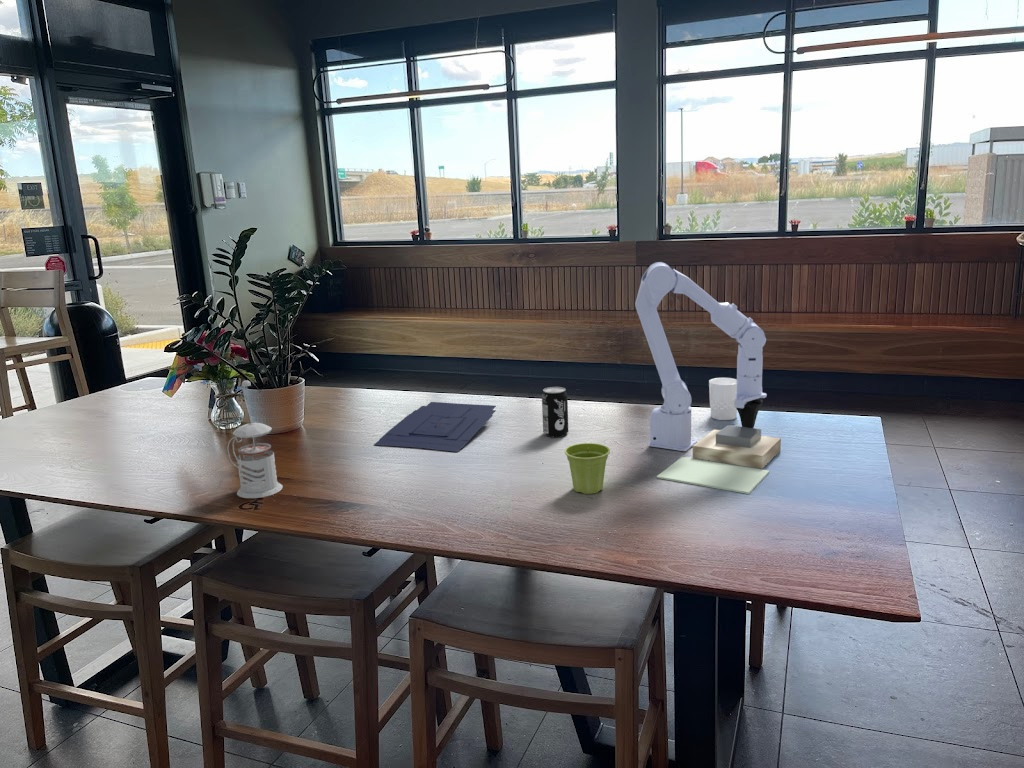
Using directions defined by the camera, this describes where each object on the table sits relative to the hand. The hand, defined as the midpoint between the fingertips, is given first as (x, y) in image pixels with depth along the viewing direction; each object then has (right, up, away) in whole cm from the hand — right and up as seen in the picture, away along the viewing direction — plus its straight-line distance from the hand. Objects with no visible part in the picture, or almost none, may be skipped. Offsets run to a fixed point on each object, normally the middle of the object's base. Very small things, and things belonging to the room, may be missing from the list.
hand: (747, 429), depth 186 cm
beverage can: (-45, -2, +16) cm, 48 cm away
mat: (-13, -9, -18) cm, 24 cm away
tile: (-4, -2, -5) cm, 7 cm away
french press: (-113, -13, -13) cm, 115 cm away
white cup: (+1, +2, +24) cm, 24 cm away
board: (-4, -5, -5) cm, 9 cm away
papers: (-76, -2, +23) cm, 79 cm away
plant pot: (-40, -11, -22) cm, 47 cm away
